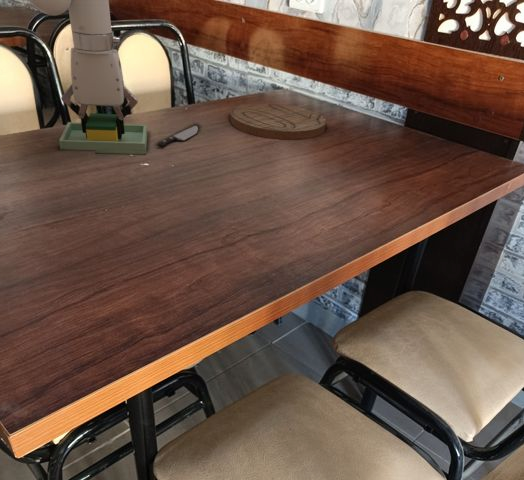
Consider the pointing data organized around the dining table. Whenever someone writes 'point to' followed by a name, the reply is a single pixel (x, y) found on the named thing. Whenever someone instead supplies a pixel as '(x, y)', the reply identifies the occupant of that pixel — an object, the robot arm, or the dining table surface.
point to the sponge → (102, 127)
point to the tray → (128, 144)
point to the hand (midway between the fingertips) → (104, 136)
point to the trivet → (277, 121)
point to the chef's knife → (180, 136)
